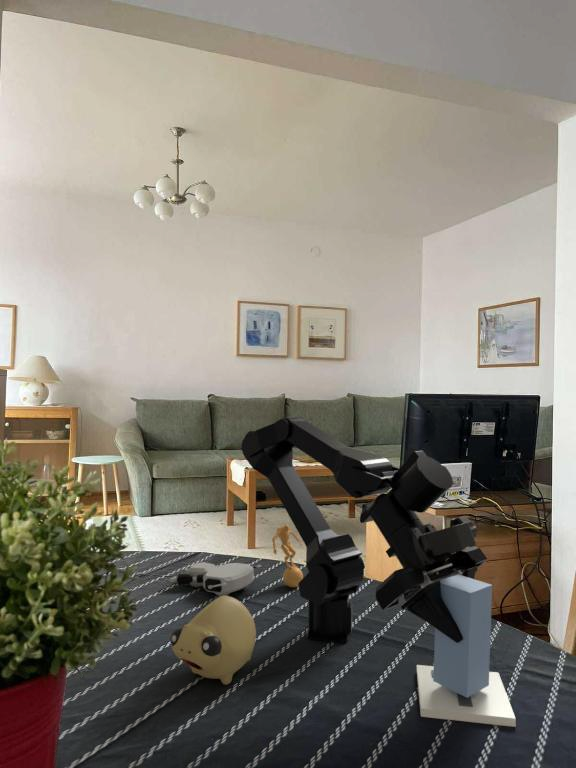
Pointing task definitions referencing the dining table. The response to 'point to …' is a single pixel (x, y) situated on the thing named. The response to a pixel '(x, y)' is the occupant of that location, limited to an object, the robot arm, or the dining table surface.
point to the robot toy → (217, 577)
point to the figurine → (292, 572)
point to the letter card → (464, 701)
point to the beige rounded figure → (217, 639)
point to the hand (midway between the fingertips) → (471, 635)
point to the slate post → (465, 636)
